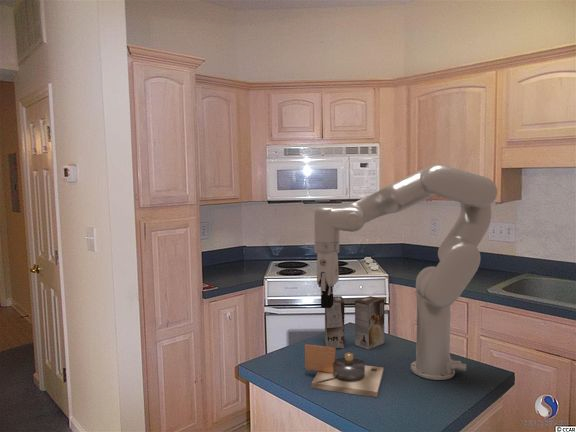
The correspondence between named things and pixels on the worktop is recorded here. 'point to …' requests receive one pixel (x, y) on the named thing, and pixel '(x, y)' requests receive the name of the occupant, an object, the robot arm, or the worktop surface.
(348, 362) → the cam dial
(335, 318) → the coffee box
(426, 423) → the worktop surface
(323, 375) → the dial board
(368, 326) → the coffee box
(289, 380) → the worktop surface
